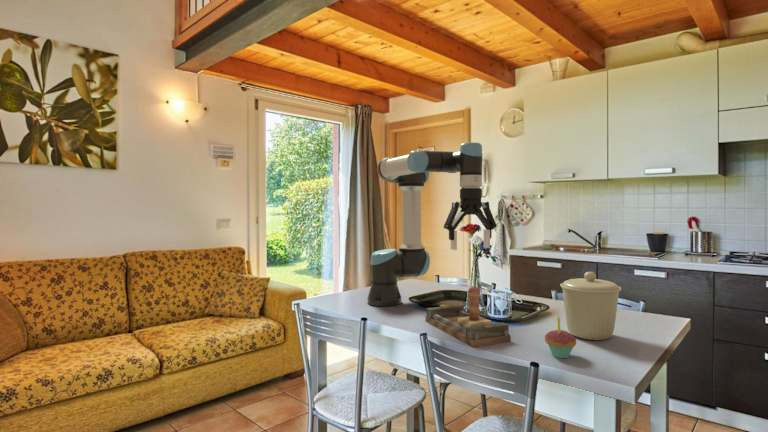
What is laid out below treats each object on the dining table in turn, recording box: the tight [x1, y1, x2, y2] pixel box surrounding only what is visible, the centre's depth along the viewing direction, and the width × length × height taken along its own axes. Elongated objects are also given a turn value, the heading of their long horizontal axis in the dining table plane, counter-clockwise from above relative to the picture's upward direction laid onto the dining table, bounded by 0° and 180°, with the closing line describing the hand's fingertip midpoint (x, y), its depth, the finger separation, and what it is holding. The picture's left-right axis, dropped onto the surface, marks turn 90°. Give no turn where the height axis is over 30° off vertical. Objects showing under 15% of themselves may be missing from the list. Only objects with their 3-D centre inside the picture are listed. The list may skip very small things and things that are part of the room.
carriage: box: [457, 286, 492, 328], centre depth 145 cm, size 8×8×14 cm
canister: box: [559, 271, 622, 341], centre depth 143 cm, size 18×18×21 cm
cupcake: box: [544, 315, 577, 359], centre depth 126 cm, size 9×8×12 cm
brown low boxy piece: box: [424, 304, 512, 348], centre depth 151 cm, size 32×14×6 cm, turn 22°
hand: (470, 248), depth 152 cm, fingers open, 13 cm apart
